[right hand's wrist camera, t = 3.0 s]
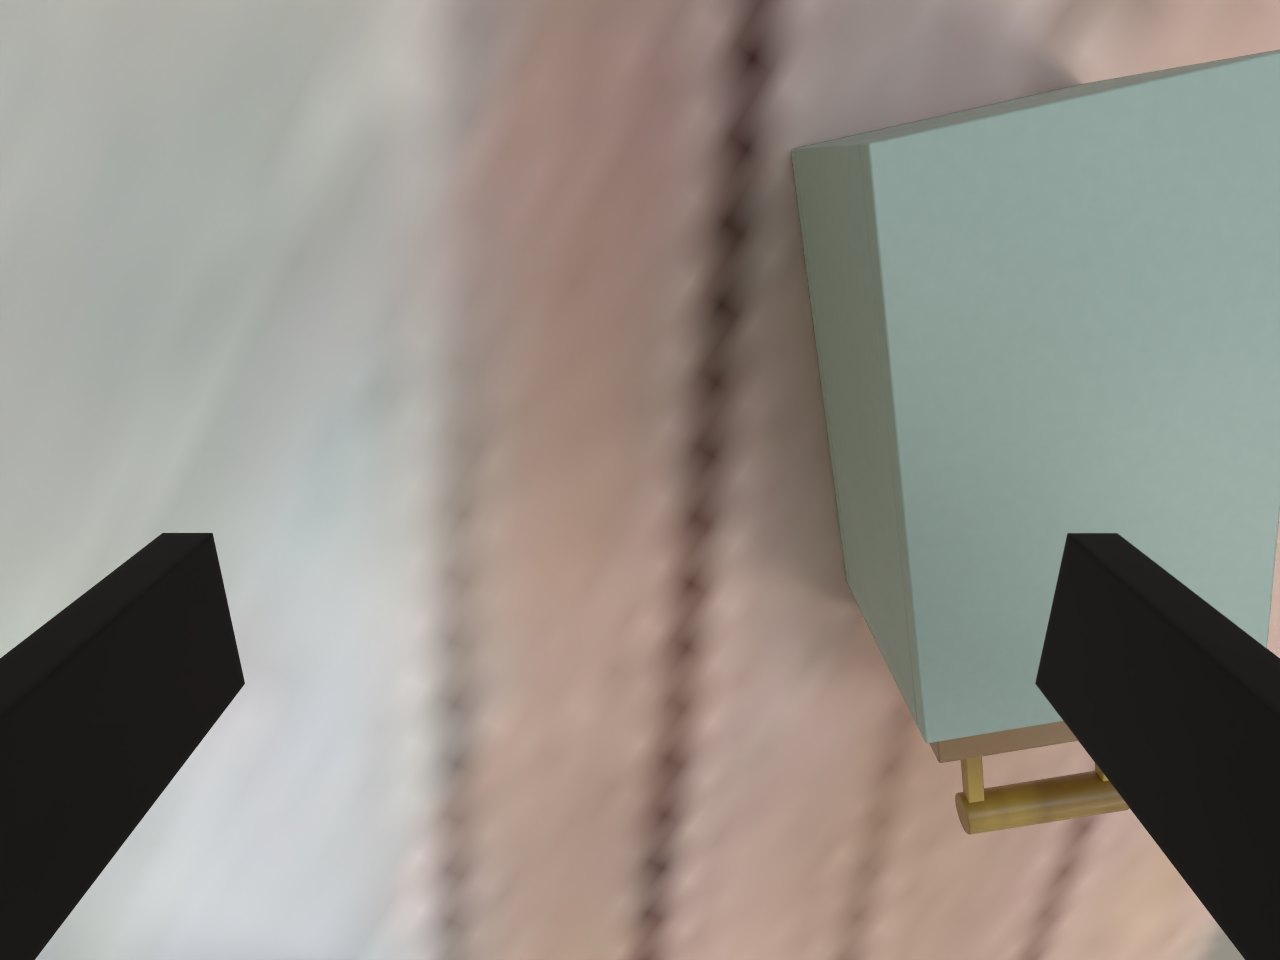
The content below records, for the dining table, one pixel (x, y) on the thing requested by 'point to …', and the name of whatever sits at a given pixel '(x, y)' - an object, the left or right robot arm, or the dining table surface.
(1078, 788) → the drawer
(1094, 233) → the grey-green rectangular block
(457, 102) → the dining table surface
